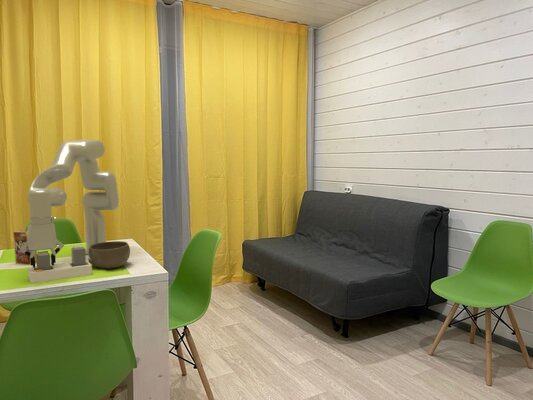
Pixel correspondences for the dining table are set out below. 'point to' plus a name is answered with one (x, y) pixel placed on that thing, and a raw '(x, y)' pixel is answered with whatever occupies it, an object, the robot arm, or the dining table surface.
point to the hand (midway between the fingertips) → (43, 265)
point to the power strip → (63, 268)
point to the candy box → (19, 241)
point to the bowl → (109, 254)
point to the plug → (43, 260)
